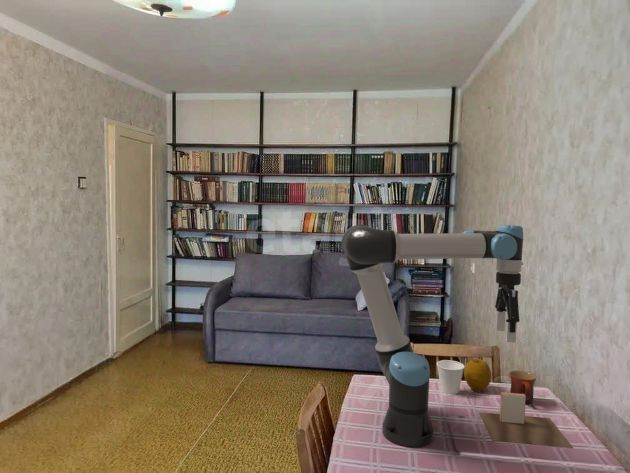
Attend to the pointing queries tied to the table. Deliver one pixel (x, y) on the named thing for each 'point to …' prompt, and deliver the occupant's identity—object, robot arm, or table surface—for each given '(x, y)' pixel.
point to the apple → (477, 374)
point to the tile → (512, 408)
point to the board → (525, 431)
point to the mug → (523, 384)
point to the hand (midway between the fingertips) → (505, 336)
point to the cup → (450, 376)
